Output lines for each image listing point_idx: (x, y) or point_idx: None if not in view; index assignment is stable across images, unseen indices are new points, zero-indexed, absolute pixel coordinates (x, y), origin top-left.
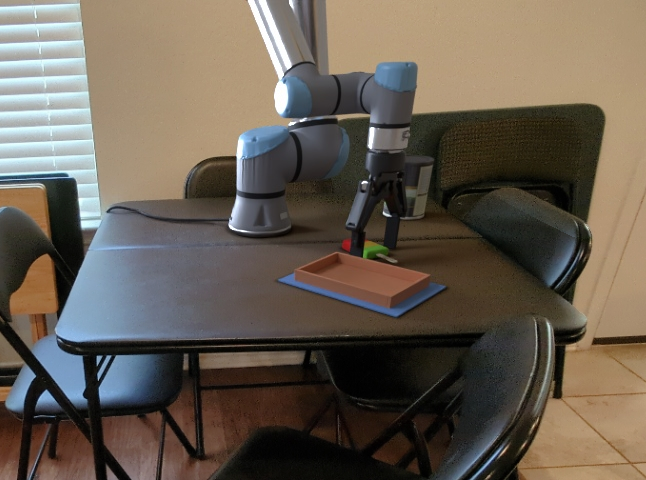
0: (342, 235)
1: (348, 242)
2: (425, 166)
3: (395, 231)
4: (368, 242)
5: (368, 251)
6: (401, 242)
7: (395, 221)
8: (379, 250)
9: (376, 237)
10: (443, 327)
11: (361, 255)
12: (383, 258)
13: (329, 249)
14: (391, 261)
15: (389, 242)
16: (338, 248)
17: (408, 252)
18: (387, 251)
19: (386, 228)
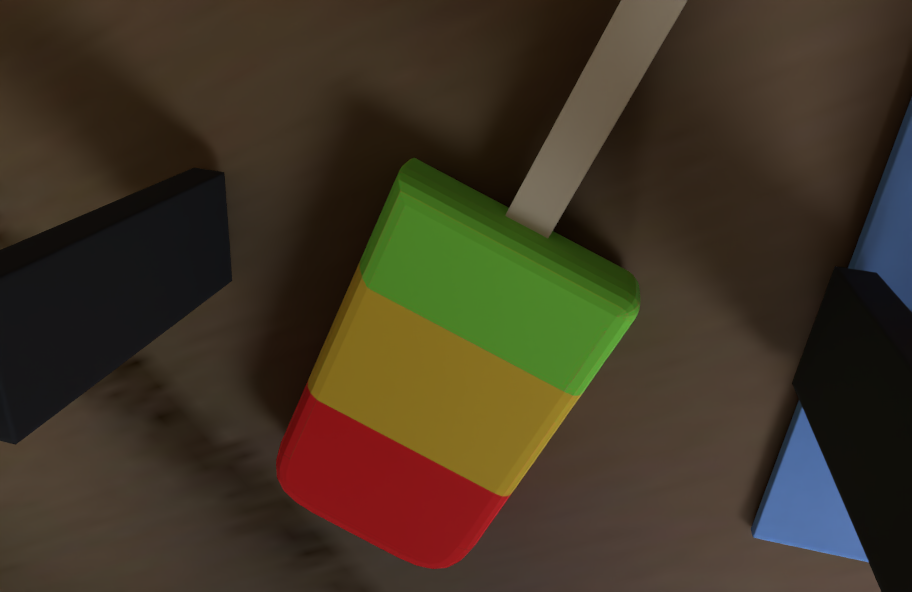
0: (196, 588)
1: (467, 529)
2: None
3: (112, 242)
4: (361, 394)
5: (625, 308)
6: (13, 197)
7: (20, 310)
8: (501, 232)
9: None
10: None
11: (906, 312)
12: (610, 130)
13: (532, 586)
14: (684, 3)
15: (200, 244)
16: None
17: (189, 29)
18: (416, 169)
19: (118, 354)
